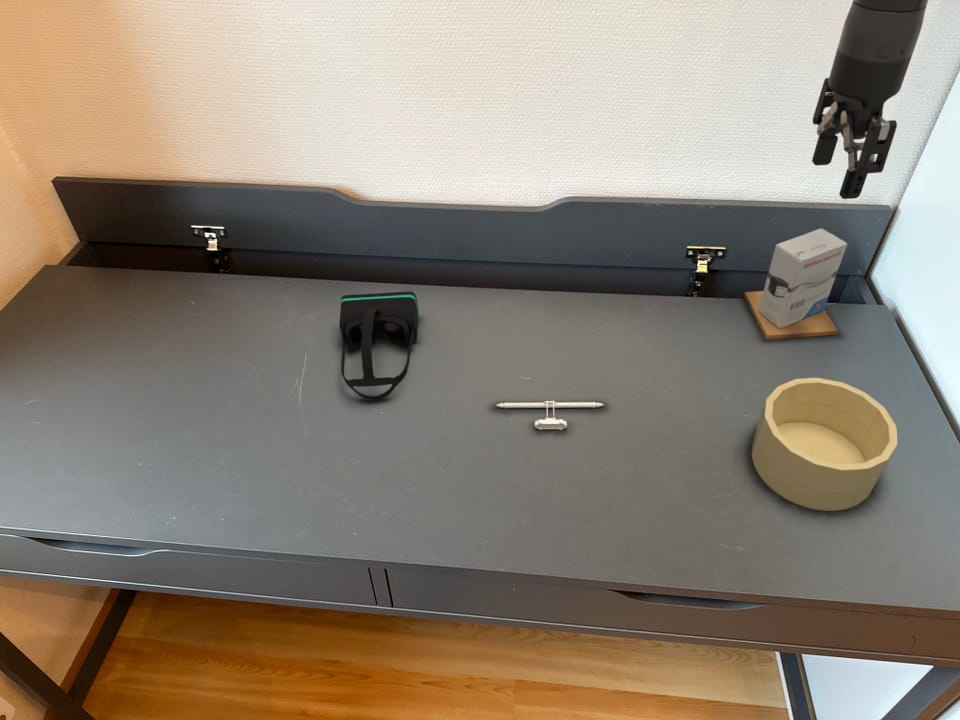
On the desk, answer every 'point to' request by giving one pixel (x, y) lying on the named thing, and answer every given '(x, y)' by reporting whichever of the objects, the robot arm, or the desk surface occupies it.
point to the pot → (822, 443)
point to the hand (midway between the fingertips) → (834, 179)
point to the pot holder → (803, 328)
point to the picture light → (548, 422)
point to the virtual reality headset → (377, 331)
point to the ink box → (801, 277)
